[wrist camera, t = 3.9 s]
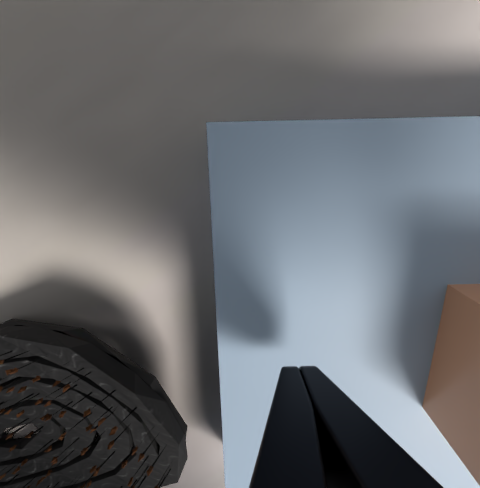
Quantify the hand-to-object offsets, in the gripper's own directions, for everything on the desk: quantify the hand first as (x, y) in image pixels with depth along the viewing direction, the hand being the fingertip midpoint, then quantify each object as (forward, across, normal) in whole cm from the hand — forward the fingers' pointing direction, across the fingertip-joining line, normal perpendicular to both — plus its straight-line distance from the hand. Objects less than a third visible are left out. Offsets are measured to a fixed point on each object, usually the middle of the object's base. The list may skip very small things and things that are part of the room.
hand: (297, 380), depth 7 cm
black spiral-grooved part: (+4, +15, +7) cm, 17 cm away
